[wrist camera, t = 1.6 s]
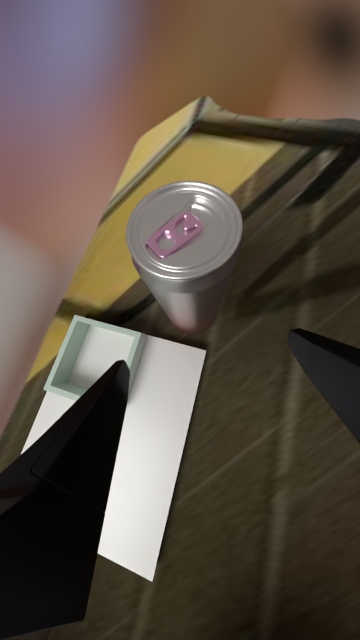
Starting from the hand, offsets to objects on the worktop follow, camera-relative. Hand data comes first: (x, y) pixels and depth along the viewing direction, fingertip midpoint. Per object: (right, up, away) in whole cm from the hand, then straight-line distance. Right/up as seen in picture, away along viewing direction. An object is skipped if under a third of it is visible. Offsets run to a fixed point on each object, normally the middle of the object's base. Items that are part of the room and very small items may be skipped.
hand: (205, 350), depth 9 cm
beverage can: (0, +3, +14) cm, 14 cm away
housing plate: (-10, -11, +11) cm, 18 cm away
